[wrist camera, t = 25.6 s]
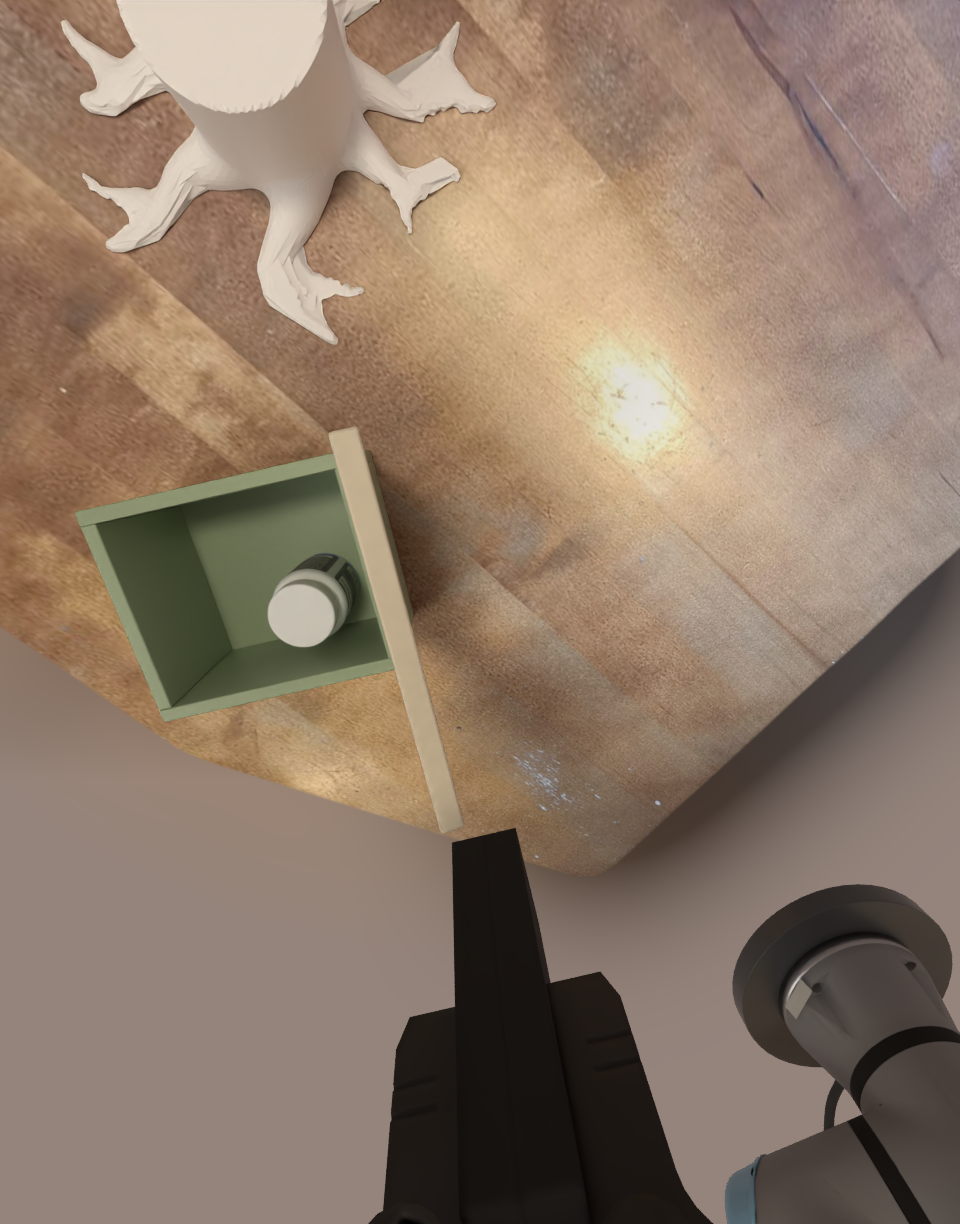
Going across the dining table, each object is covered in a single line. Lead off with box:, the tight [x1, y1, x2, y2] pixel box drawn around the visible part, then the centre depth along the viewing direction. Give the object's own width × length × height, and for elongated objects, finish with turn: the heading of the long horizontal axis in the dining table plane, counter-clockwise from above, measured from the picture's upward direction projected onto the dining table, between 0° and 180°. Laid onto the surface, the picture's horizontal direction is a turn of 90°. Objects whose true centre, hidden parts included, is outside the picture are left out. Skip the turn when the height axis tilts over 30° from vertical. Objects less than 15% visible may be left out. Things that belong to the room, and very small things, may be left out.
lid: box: [328, 427, 464, 833], centre depth 24 cm, size 15×13×1 cm
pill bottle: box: [268, 553, 360, 647], centre depth 37 cm, size 5×5×8 cm
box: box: [75, 450, 414, 722], centre depth 36 cm, size 15×13×11 cm
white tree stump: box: [61, 0, 496, 345], centre depth 29 cm, size 23×25×9 cm
